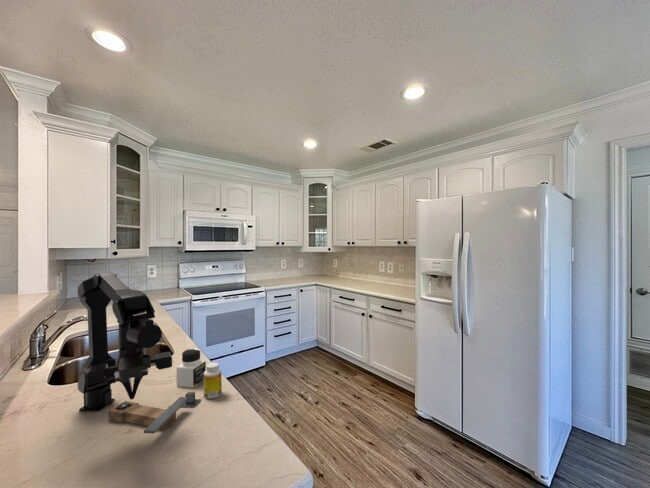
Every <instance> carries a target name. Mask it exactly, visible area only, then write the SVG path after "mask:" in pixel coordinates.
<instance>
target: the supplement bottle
mask: <svg viewBox="0 0 650 488" xmlns="http://www.w3.org/2000/svg"><path fill="white" fill-rule="evenodd" d="M222 391H223V390H222V369H221V368H220V364H219V363H218V362H211V363H208V364H206V371H205V372H204V380H203V396H204V398H205V399H208V400H211V399H216V398H218V397H220V395H221V394H222Z"/></svg>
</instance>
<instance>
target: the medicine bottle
mask: <svg viewBox="0 0 650 488" xmlns="http://www.w3.org/2000/svg"><path fill="white" fill-rule="evenodd" d="M181 356H182V357H181V360H182V361H181V362H182V363H180V364H179V365H178V366H176V386H177V387H180V388H191V389H194V388H196V387H197V386H199V384H200V383H203V382H204V372H205V371H206V366H207V364H206V363H207V362H206V360H205V359H201V350H200V349H199V348H196V347H195V348H188V349H185V350H184V351H182V353H181Z"/></svg>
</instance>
